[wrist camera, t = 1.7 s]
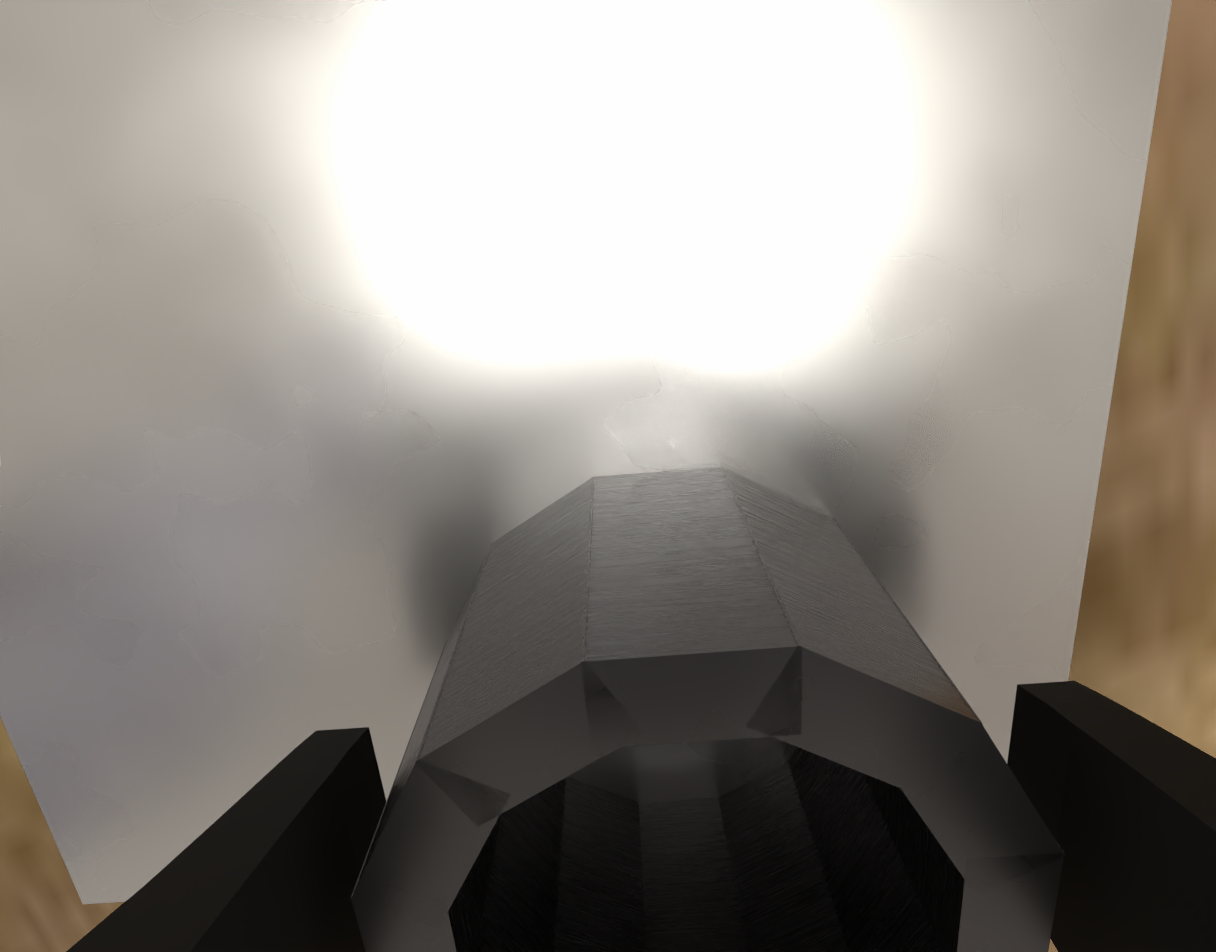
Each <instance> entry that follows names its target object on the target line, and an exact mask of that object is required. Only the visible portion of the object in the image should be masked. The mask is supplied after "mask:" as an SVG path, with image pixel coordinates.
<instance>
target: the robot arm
mask: <svg viewBox="0 0 1216 952" xmlns="http://www.w3.org/2000/svg"><path fill="white" fill-rule="evenodd" d="M1007 764H1008V766H1009V768H1010V769H1011V771H1012V772H1013V774H1014V776H1015V777H1016V779H1017V780H1018V782H1019V783H1020V785H1021V787H1022V788H1023V790H1024V791H1025V793H1026V794H1027V796H1028V798H1029V799H1030V801H1031V802H1032V804H1033V806H1034V807H1035V809H1036V810H1037V812H1038V813H1039V815H1040V817H1041V818H1042V820H1043V821H1044V823H1045V825H1046V826H1047V828H1048V829H1049V831H1050V832H1051V834H1052V836H1053V837H1054V839H1055V840H1056V841H1057V843H1058V844H1059V846H1060V847H1061V848H1062V850H1063V851H1064V855H1065V856H1064V859H1063V865H1062V871H1061V877H1060V883H1059V889H1058V895H1057V901H1056V907H1055V913H1054V919H1053V925H1052V931H1051V937H1050V938H1051V940H1052V942H1053V943H1054V945H1055V947H1056V948H1057V950H1058V952H1216V759H1215V758H1214V757H1212V756H1210V755H1208V754H1207V753H1205V752H1203V751H1201V750H1200V749H1198V748H1196V747H1194V746H1193V745H1191V744H1189V743H1187V742H1186V741H1184V740H1182V739H1180V738H1179V737H1177V736H1175V735H1173V734H1172V733H1170V732H1168V731H1166V730H1164V729H1163V728H1161V727H1159V726H1157V725H1156V724H1154V723H1152V722H1150V721H1149V720H1147V719H1145V718H1143V717H1141V716H1140V715H1138V714H1136V713H1134V712H1133V711H1131V710H1129V709H1127V708H1125V707H1124V706H1122V705H1120V704H1118V703H1116V702H1114V701H1113V700H1111V699H1109V698H1107V697H1105V696H1103V695H1101V694H1099V693H1098V692H1096V691H1094V690H1092V689H1090V688H1088V687H1086V686H1084V685H1082V684H1080V683H1078V682H1076V681H1063V682H1048V683H1032V684H1017V689H1016V697H1015V705H1014V713H1013V721H1012V729H1011V737H1010V745H1009V753H1008V761H1007ZM385 804H386V798H385V793H384V789H383V785H382V781H381V777H380V772H379V768H378V764H377V760H376V755H375V751H374V747H373V743H372V738H371V734H370V730H369V727H363V728H348V729H333V730H317V731H315V732H314V733H313V734H311V735H310V736H309V737H308V738H307V739H305V740H304V741H303V742H302V743H301V744H300V745H298V746H297V747H296V748H295V749H294V750H293V751H292V752H290V753H289V754H288V755H287V756H286V757H285V758H284V759H283V760H282V761H281V762H279V763H278V764H277V765H276V766H275V767H274V768H273V769H272V770H271V771H270V772H269V773H267V774H266V775H265V776H264V777H263V778H262V779H261V780H260V781H259V782H258V783H257V784H255V785H254V786H253V787H252V788H251V789H250V790H249V791H248V792H247V793H246V794H245V795H244V796H242V797H241V798H240V799H239V800H238V801H237V802H236V803H235V804H234V805H233V806H232V807H231V808H229V809H228V810H227V811H226V812H225V813H224V814H223V815H222V816H221V817H220V818H219V819H217V820H216V821H215V822H214V823H213V824H212V825H211V826H210V827H209V828H208V829H206V830H205V831H204V832H203V833H202V834H201V835H200V836H199V837H198V838H196V839H195V840H194V841H193V842H192V843H191V844H190V845H189V846H188V847H187V848H185V849H184V850H183V851H182V852H181V853H180V854H179V855H178V856H177V857H176V858H174V859H173V860H172V861H171V862H170V863H169V864H168V865H167V866H166V867H164V868H163V869H162V870H161V871H160V872H159V873H158V874H157V875H156V876H155V877H153V878H152V879H151V880H150V881H149V882H148V883H147V884H145V885H144V886H143V887H142V888H141V889H140V890H138V891H137V892H136V893H135V894H134V895H133V896H131V897H130V898H129V899H128V900H127V901H126V902H124V903H123V904H122V905H121V906H120V907H118V908H117V909H116V910H115V911H114V912H113V913H111V914H110V915H109V916H108V917H107V918H105V919H104V920H103V921H102V922H101V923H100V924H98V925H97V926H96V927H95V928H94V929H92V930H91V931H90V932H89V933H88V934H87V935H85V936H84V937H83V938H82V939H81V940H80V941H78V942H77V943H76V944H75V945H74V946H72V947H71V948H70V949H69V950H68V951H67V952H365V948H364V944H363V941H362V937H361V933H360V930H359V926H358V922H357V919H356V915H355V911H354V908H353V904H352V901H351V896H352V893H353V890H354V887H355V885H356V882H357V879H358V877H359V874H360V871H361V869H362V866H363V863H364V861H365V858H366V855H367V852H368V850H369V847H370V844H371V842H372V839H373V836H374V834H375V831H376V828H377V826H378V823H379V820H380V818H381V815H382V812H383V809H384V807H385Z"/></svg>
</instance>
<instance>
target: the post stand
mask: <svg viewBox="0 0 1216 952" xmlns="http://www.w3.org/2000/svg"><path fill="white" fill-rule="evenodd" d="M1171 3H1172V0H0V717H1V719H2V722H3V724H4V726H5V728H6V731H7V733H8V735H9V738H10V740H11V742H12V744H13V747H14V749H15V751H16V753H17V756H18V758H19V760H20V763H21V765H22V767H23V769H24V772H25V774H26V776H27V779H28V781H29V783H30V785H31V788H32V790H33V792H34V794H35V797H36V799H37V801H38V804H39V806H40V808H41V810H42V813H43V815H44V817H45V819H46V822H47V824H48V826H49V829H50V831H51V833H52V835H53V838H54V840H55V842H56V845H57V847H58V849H59V851H60V854H61V856H62V858H63V860H64V863H65V865H66V867H67V870H68V872H69V874H70V876H71V879H72V881H73V883H74V886H75V888H76V890H77V892H78V895H79V897H80V899H81V901H82V904H95V903H111V902H126V901H127V900H128V899H129V898H130V897H131V896H133V895H134V894H135V893H136V892H137V891H138V890H140V889H141V888H142V887H143V886H144V885H145V884H147V883H148V882H149V881H150V880H151V879H152V878H153V877H155V876H156V875H157V874H158V873H159V872H160V871H161V870H162V869H163V868H164V867H166V866H167V865H168V864H169V863H170V862H171V861H172V860H173V859H174V858H176V857H177V856H178V855H179V854H180V853H181V852H182V851H183V850H184V849H185V848H187V847H188V846H189V845H190V844H191V843H192V842H193V841H194V840H195V839H196V838H198V837H199V836H200V835H201V834H202V833H203V832H204V831H205V830H206V829H208V828H209V827H210V826H211V825H212V824H213V823H214V822H215V821H216V820H217V819H219V818H220V817H221V816H222V815H223V814H224V813H225V812H226V811H227V810H228V809H229V808H231V807H232V806H233V805H234V804H235V803H236V802H237V801H238V800H239V799H240V798H241V797H242V796H244V795H245V794H246V793H247V792H248V791H249V790H250V789H251V788H252V787H253V786H254V785H255V784H257V783H258V782H259V781H260V780H261V779H262V778H263V777H264V776H265V775H266V774H267V773H269V772H270V771H271V770H272V769H273V768H274V767H275V766H276V765H277V764H278V763H279V762H281V761H282V760H283V759H284V758H285V757H286V756H287V755H288V754H289V753H290V752H292V751H293V750H294V749H295V748H296V747H297V746H298V745H300V744H301V743H302V742H303V741H304V740H305V739H307V738H308V737H309V736H310V735H311V734H313V733H314V732H315V731H317V730H333V729H348V728H363V727H369V730H370V734H371V738H372V743H373V747H374V751H375V755H376V760H377V764H378V768H379V772H380V777H381V781H382V785H383V789H384V793H385V798H386V801H387V799H388V796H389V793H390V791H391V788H392V785H393V783H394V780H395V777H396V774H397V772H398V769H399V766H400V764H401V761H402V758H403V756H404V753H405V750H406V748H407V745H408V742H409V739H410V737H411V734H412V731H413V729H414V726H415V723H416V721H417V718H418V715H419V713H420V710H421V707H422V704H423V702H424V699H425V696H426V694H427V691H428V688H429V686H430V683H431V680H432V678H433V675H434V672H435V670H436V667H437V664H438V661H439V659H440V656H441V653H442V651H443V648H444V645H445V643H446V640H447V639H448V637H449V635H450V633H451V630H452V628H453V626H454V624H455V622H456V619H457V617H458V615H459V613H460V611H461V609H462V606H463V604H464V602H465V600H466V598H467V596H468V593H469V591H470V589H471V587H472V585H473V582H474V580H475V578H476V576H477V574H478V572H479V569H480V567H481V565H482V563H483V561H484V559H485V556H486V554H487V552H488V550H489V547H490V544H491V543H493V542H494V541H496V540H497V539H499V538H501V537H502V536H504V535H505V534H507V533H508V532H510V531H511V530H513V529H514V528H516V527H517V526H519V525H520V524H522V523H523V522H525V521H526V520H528V519H530V518H531V517H533V516H534V515H536V514H537V513H539V512H540V511H542V510H543V509H545V508H546V507H548V506H549V505H551V504H552V503H554V502H555V501H557V500H559V499H560V498H562V497H563V496H565V495H566V494H568V493H569V492H571V491H572V490H574V489H575V488H577V487H578V486H580V485H581V484H583V483H584V482H586V481H587V480H589V479H591V478H592V477H597V476H610V475H623V474H636V473H648V472H661V471H674V470H686V469H699V468H712V467H724V468H726V469H728V470H730V471H732V472H735V473H737V474H739V475H741V476H743V477H746V478H748V479H750V480H752V481H754V482H757V483H759V484H761V485H763V486H765V487H768V488H770V489H772V490H774V491H776V492H779V493H781V494H783V495H785V496H787V497H789V498H792V499H794V500H796V501H798V502H800V503H803V504H805V505H807V506H809V507H811V508H814V509H816V510H818V511H820V512H822V513H825V514H827V515H829V516H831V517H832V516H833V518H835V520H836V521H837V522H838V524H839V525H840V527H841V528H842V529H843V531H844V532H845V533H846V535H847V536H848V538H849V539H850V540H851V542H852V543H853V545H854V546H855V547H856V549H857V550H858V551H859V553H860V554H861V556H862V557H863V558H864V560H865V561H866V563H867V564H868V565H869V567H870V568H871V569H872V571H873V572H874V574H875V575H876V576H877V578H878V579H879V581H880V582H881V583H882V585H883V586H884V587H885V589H886V590H887V592H888V593H889V594H890V596H891V597H892V599H893V600H894V601H895V603H896V604H897V605H898V607H899V608H900V610H901V611H902V612H903V614H904V615H905V616H906V618H907V619H908V621H909V622H910V623H911V625H912V626H913V628H914V629H915V630H916V632H917V633H918V634H919V636H920V637H921V639H922V640H923V641H924V643H925V644H926V646H927V647H928V648H929V650H930V651H931V652H932V654H933V655H934V657H935V658H936V659H937V661H938V662H939V664H940V665H941V666H942V668H943V669H944V670H945V672H946V673H947V675H948V676H949V677H950V679H951V680H952V682H953V683H954V684H955V686H956V687H957V688H958V690H959V691H960V693H961V694H962V695H963V697H964V698H965V699H966V701H967V702H968V704H969V705H970V706H971V708H972V709H973V711H974V712H975V713H976V715H977V716H978V717H979V719H980V720H981V722H982V723H983V724H982V725H983V727H984V728H985V730H986V731H987V733H988V734H989V736H990V738H991V739H992V741H993V742H994V744H995V745H996V747H997V749H998V750H999V752H1000V753H1001V755H1002V757H1003V758H1004V760H1005V761H1006V763H1007V761H1008V753H1009V745H1010V737H1011V729H1012V721H1013V713H1014V705H1015V697H1016V689H1017V684H1032V683H1048V682H1063V681H1068V679H1069V673H1070V666H1071V660H1072V653H1073V646H1074V640H1075V633H1076V627H1077V620H1078V614H1079V607H1080V601H1081V594H1082V587H1083V581H1084V574H1085V568H1086V561H1087V555H1088V548H1089V541H1090V535H1091V528H1092V522H1093V515H1094V509H1095V502H1096V495H1097V489H1098V482H1099V476H1100V469H1101V463H1102V456H1103V449H1104V443H1105V436H1106V430H1107V423H1108V417H1109V410H1110V403H1111V397H1112V390H1113V384H1114V377H1115V371H1116V364H1117V358H1118V351H1119V344H1120V338H1121V331H1122V325H1123V318H1124V312H1125V305H1126V298H1127V292H1128V285H1129V279H1130V272H1131V266H1132V259H1133V252H1134V246H1135V239H1136V233H1137V226H1138V220H1139V213H1140V207H1141V200H1142V193H1143V187H1144V180H1145V174H1146V167H1147V161H1148V154H1149V147H1150V141H1151V134H1152V128H1153V121H1154V115H1155V108H1156V101H1157V95H1158V88H1159V82H1160V75H1161V69H1162V62H1163V55H1164V49H1165V42H1166V36H1167V29H1168V23H1169V16H1170V10H1171ZM796 748H797V747H796V746H794V745H791V744H789V743H786V742H784V741H781V740H779V739H776V738H774V737H759V738H745V739H730V740H715V741H701V742H686V743H671V744H656V745H642V746H627V747H619V748H617V749H616V750H614V751H612V752H610V753H608V754H607V755H605V756H603V757H601V758H600V759H598V760H596V761H594V762H592V763H591V764H589V765H587V766H585V767H584V768H582V769H580V770H578V771H576V772H575V773H573V774H571V775H569V777H571V778H574V779H577V780H579V781H582V782H585V783H588V784H590V785H593V786H596V787H598V788H601V789H604V790H606V791H609V792H612V793H614V794H617V795H620V796H622V797H625V798H628V799H630V800H633V801H636V802H638V803H643V802H658V801H673V800H688V799H703V798H718V797H720V796H722V795H724V794H726V793H728V792H730V791H732V790H733V789H735V788H737V787H739V786H741V785H743V784H745V783H747V782H749V781H750V780H752V779H754V778H756V777H758V776H760V775H762V774H764V773H765V772H767V771H769V770H771V769H773V768H775V767H777V766H779V765H781V764H782V763H784V762H786V761H788V759H789V758H790V756H791V755H792V753H793V752H794V750H795V749H796Z"/></svg>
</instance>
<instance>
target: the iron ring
mask: <svg viewBox="0 0 1216 952" xmlns="http://www.w3.org/2000/svg"><path fill="white" fill-rule="evenodd" d="M982 724H983V723H982V722H981V720H980V719H979V717H978V716H977V715H976V713H975V712H974V711H973V709H972V708H971V706H970V705H969V704H968V702H967V701H966V699H965V698H964V697H963V695H962V694H961V693H960V691H959V690H958V688H957V687H956V686H955V684H954V683H953V682H952V680H951V679H950V677H949V676H948V675H947V673H946V672H945V670H944V669H943V668H942V666H941V665H940V664H939V662H938V661H937V659H936V658H935V657H934V655H933V654H932V652H931V651H930V650H929V648H928V647H927V646H926V644H925V643H924V641H923V640H922V639H921V637H920V636H919V634H918V633H917V632H916V630H915V629H914V628H913V626H912V625H911V623H910V622H909V621H908V619H907V618H906V616H905V615H904V614H903V612H902V611H901V610H900V608H899V607H898V605H897V604H896V603H895V601H894V600H893V599H892V597H891V596H890V594H889V593H888V592H887V590H886V589H885V587H884V586H883V585H882V583H881V582H880V581H879V579H878V578H877V576H876V575H875V574H874V572H873V571H872V569H871V568H870V567H869V565H868V564H867V563H866V561H865V560H864V558H863V557H862V556H861V554H860V553H859V551H858V550H857V549H856V547H855V546H854V545H853V543H852V542H851V540H850V539H849V538H848V536H847V535H846V533H845V532H844V531H843V529H842V528H841V527H840V525H839V524H838V522H837V521H836V520H835V518H833V516H832V517H831V516H829V515H827V514H825V513H822V512H820V511H818V510H816V509H814V508H811V507H809V506H807V505H805V504H803V503H800V502H798V501H796V500H794V499H792V498H789V497H787V496H785V495H783V494H781V493H779V492H776V491H774V490H772V489H770V488H768V487H765V486H763V485H761V484H759V483H757V482H754V481H752V480H750V479H748V478H746V477H743V476H741V475H739V474H737V473H735V472H732V471H730V470H728V469H726V468H724V467H712V468H699V469H686V470H674V471H661V472H648V473H636V474H623V475H610V476H597V477H592V478H591V479H589V480H587V481H586V482H584V483H583V484H581V485H580V486H578V487H577V488H575V489H574V490H572V491H571V492H569V493H568V494H566V495H565V496H563V497H562V498H560V499H559V500H557V501H555V502H554V503H552V504H551V505H549V506H548V507H546V508H545V509H543V510H542V511H540V512H539V513H537V514H536V515H534V516H533V517H531V518H530V519H528V520H526V521H525V522H523V523H522V524H520V525H519V526H517V527H516V528H514V529H513V530H511V531H510V532H508V533H507V534H505V535H504V536H502V537H501V538H499V539H497V540H496V541H494V542H493V543H491V544H490V547H489V550H488V552H487V554H486V556H485V559H484V561H483V563H482V565H481V567H480V569H479V572H478V574H477V576H476V578H475V580H474V582H473V585H472V587H471V589H470V591H469V593H468V596H467V598H466V600H465V602H464V604H463V606H462V609H461V611H460V613H459V615H458V617H457V619H456V622H455V624H454V626H453V628H452V630H451V633H450V635H449V637H448V639H447V640H446V643H445V645H444V648H443V651H442V653H441V656H440V659H439V661H438V664H437V667H436V670H435V672H434V675H433V678H432V680H431V683H430V686H429V688H428V691H427V694H426V696H425V699H424V702H423V704H422V707H421V710H420V713H419V715H418V718H417V721H416V723H415V726H414V729H413V731H412V734H411V737H410V739H409V742H408V745H407V748H406V750H405V753H404V756H403V758H402V761H401V764H400V766H399V769H398V772H397V774H396V777H395V780H394V783H393V785H392V788H391V791H390V793H389V796H388V799H387V801H386V804H385V807H384V809H383V812H382V815H381V818H380V820H379V823H378V826H377V828H376V831H375V834H374V836H373V839H372V842H371V844H370V847H369V850H368V852H367V855H366V858H365V861H364V863H363V866H362V869H361V871H360V874H359V877H358V879H357V882H356V885H355V887H354V890H353V893H352V896H351V901H352V904H353V908H354V911H355V915H356V919H357V922H358V926H359V930H360V933H361V937H362V941H363V944H364V948H365V952H1048V949H1049V943H1050V937H1051V931H1052V925H1053V919H1054V913H1055V907H1056V901H1057V895H1058V889H1059V883H1060V877H1061V871H1062V865H1063V859H1064V856H1065V855H1064V851H1063V850H1062V848H1061V847H1060V846H1059V844H1058V843H1057V841H1056V840H1055V839H1054V837H1053V836H1052V834H1051V832H1050V831H1049V829H1048V828H1047V826H1046V825H1045V823H1044V821H1043V820H1042V818H1041V817H1040V815H1039V813H1038V812H1037V810H1036V809H1035V807H1034V806H1033V804H1032V802H1031V801H1030V799H1029V798H1028V796H1027V794H1026V793H1025V791H1024V790H1023V788H1022V787H1021V785H1020V783H1019V782H1018V780H1017V779H1016V777H1015V776H1014V774H1013V772H1012V771H1011V769H1010V768H1009V766H1008V764H1007V763H1006V761H1005V760H1004V758H1003V757H1002V755H1001V753H1000V752H999V750H998V749H997V747H996V745H995V744H994V742H993V741H992V739H991V738H990V736H989V734H988V733H987V731H986V730H985V728H984V727H983V725H982ZM759 737H774V738H776V739H779V740H781V741H784V742H786V743H789V744H791V745H794V746H796V747H797V748H796V749H795V750H794V752H793V753H792V755H791V756H790V758H789V759H788V761H786V762H784V763H782V764H781V765H779V766H777V767H775V768H773V769H771V770H769V771H767V772H765V773H764V774H762V775H760V776H758V777H756V778H754V779H752V780H750V781H749V782H747V783H745V784H743V785H741V786H739V787H737V788H735V789H733V790H732V791H730V792H728V793H726V794H724V795H722V796H720V797H718V798H703V799H688V800H673V801H658V802H643V803H638V802H636V801H633V800H630V799H628V798H625V797H622V796H620V795H617V794H614V793H612V792H609V791H606V790H604V789H601V788H598V787H596V786H593V785H590V784H588V783H585V782H582V781H579V780H577V779H574V778H571V777H569V775H571V774H573V773H575V772H576V771H578V770H580V769H582V768H584V767H585V766H587V765H589V764H591V763H592V762H594V761H596V760H598V759H600V758H601V757H603V756H605V755H607V754H608V753H610V752H612V751H614V750H616V749H617V748H619V747H627V746H642V745H656V744H671V743H686V742H701V741H715V740H730V739H745V738H759Z"/></svg>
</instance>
